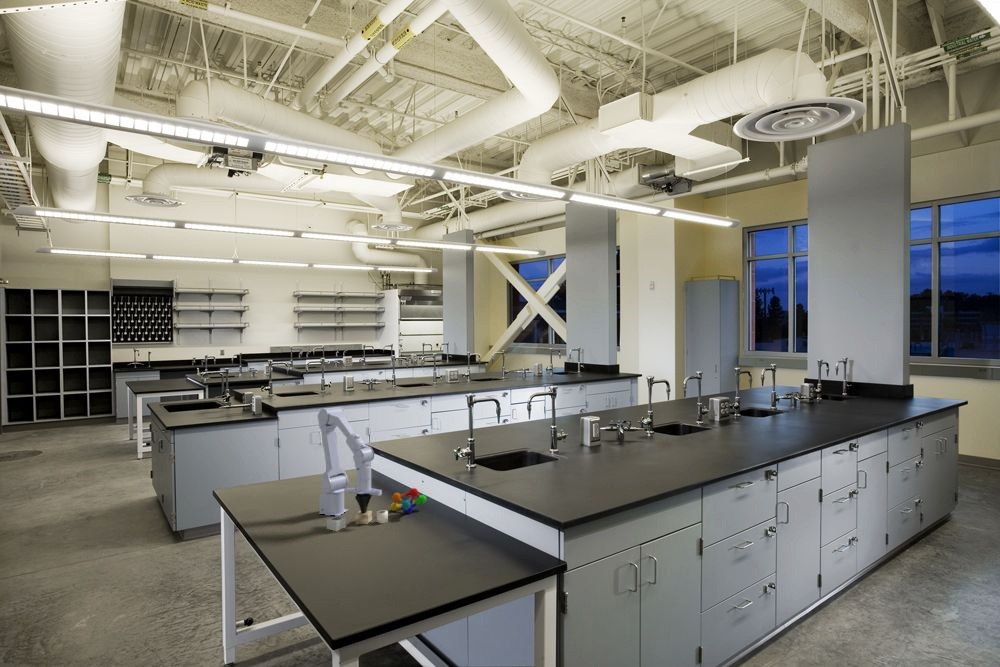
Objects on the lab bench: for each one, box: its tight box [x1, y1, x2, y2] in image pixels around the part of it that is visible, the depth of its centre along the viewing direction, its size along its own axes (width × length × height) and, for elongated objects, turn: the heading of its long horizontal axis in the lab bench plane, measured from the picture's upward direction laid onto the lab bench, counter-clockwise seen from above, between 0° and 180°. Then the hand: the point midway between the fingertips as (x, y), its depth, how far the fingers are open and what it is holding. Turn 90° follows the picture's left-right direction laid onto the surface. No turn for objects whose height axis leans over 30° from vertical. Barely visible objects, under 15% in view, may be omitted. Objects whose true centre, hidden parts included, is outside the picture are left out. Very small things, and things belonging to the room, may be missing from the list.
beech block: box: [355, 510, 373, 525], centre depth 220 cm, size 5×5×4 cm
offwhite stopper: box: [376, 509, 389, 524], centre depth 220 cm, size 4×4×4 cm
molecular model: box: [389, 487, 427, 514], centre depth 233 cm, size 15×10×15 cm
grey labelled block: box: [326, 516, 347, 532], centre depth 213 cm, size 5×5×4 cm
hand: (363, 512), depth 220 cm, fingers closed
